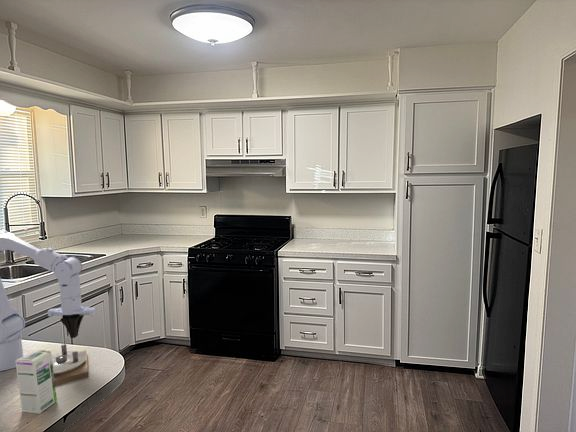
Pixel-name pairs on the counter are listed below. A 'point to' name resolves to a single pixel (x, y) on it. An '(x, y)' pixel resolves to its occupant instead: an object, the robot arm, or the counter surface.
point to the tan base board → (73, 373)
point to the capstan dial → (67, 361)
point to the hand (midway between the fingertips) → (74, 336)
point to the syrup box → (36, 381)
